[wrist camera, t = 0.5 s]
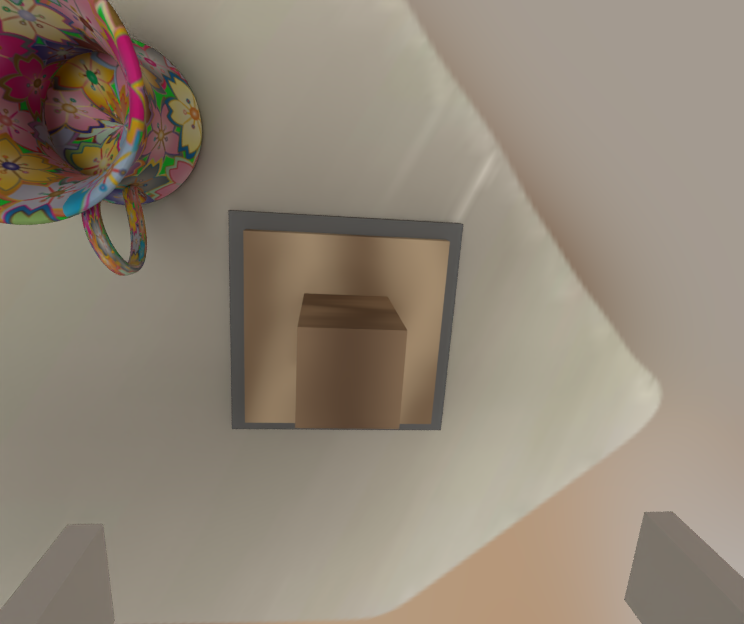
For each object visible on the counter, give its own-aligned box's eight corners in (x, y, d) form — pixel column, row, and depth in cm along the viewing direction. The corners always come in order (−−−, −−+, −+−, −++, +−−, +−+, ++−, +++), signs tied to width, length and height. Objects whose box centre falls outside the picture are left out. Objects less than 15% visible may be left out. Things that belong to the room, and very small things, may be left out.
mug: (3, 65, 24) (-232, -24, 14) (169, 7, 24) (57, -124, 14) (111, 276, 28) (-15, 328, 17) (258, 224, 28) (218, 245, 17)
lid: (247, 414, 30) (220, 492, 22) (246, 229, 27) (214, 244, 19) (427, 416, 31) (461, 490, 24) (445, 239, 28) (490, 258, 21)
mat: (233, 424, 31) (232, 428, 30) (230, 210, 27) (228, 210, 27) (438, 425, 32) (440, 430, 32) (460, 223, 29) (463, 224, 28)
